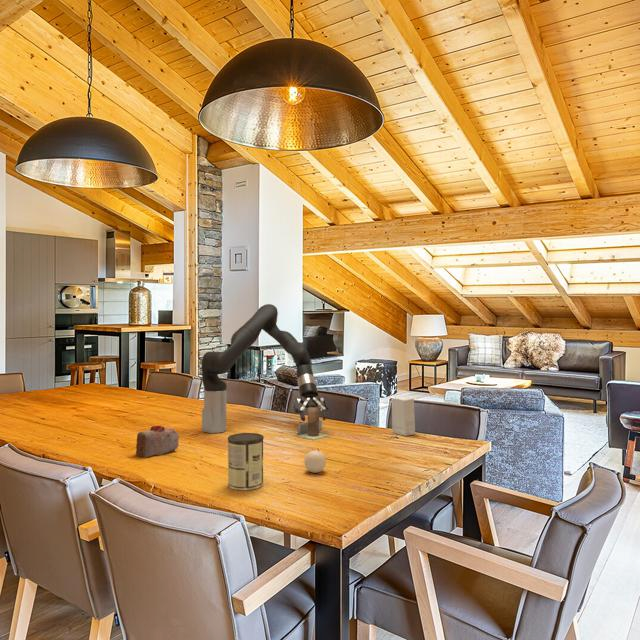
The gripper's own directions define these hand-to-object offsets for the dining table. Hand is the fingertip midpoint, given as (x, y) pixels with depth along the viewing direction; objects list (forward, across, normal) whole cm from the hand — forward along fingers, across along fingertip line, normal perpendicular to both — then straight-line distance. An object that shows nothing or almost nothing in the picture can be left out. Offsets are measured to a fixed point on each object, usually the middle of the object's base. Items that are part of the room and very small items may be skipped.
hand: (314, 419), depth 218 cm
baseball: (+38, +12, +28) cm, 48 cm away
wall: (-2, -1, -11) cm, 11 cm away
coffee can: (+43, +35, +33) cm, 64 cm away
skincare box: (+7, -37, -3) cm, 38 cm away
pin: (+4, 0, -6) cm, 7 cm away
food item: (+13, +60, +3) cm, 62 cm away
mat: (+4, 0, -6) cm, 7 cm away
